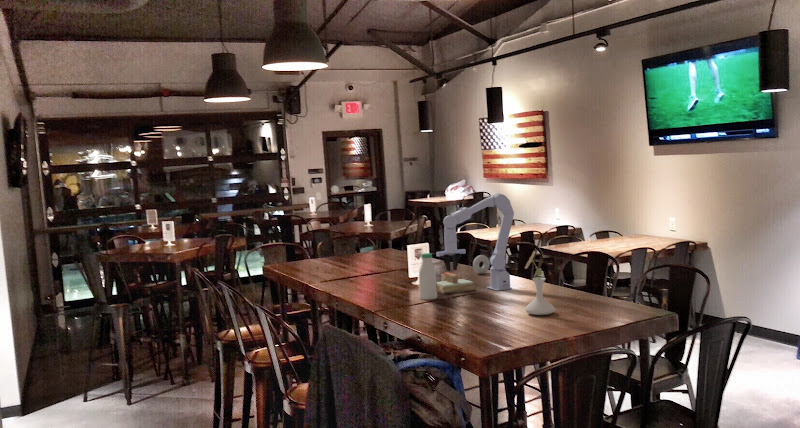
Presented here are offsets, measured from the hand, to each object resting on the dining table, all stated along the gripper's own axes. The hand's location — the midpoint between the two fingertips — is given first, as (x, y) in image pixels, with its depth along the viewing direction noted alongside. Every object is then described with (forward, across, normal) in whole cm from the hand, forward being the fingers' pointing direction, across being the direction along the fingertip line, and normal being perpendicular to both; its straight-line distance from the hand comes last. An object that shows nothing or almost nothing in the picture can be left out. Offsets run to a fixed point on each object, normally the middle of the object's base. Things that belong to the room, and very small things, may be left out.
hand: (451, 270), depth 317 cm
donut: (+10, -34, -31) cm, 47 cm away
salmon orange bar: (+5, -6, -13) cm, 15 cm away
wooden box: (+9, 0, 0) cm, 9 cm away
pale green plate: (+6, 0, 0) cm, 6 cm away
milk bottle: (+10, +18, +10) cm, 22 cm away
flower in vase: (+10, -4, +63) cm, 64 cm away
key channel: (+9, -6, -12) cm, 16 cm away
